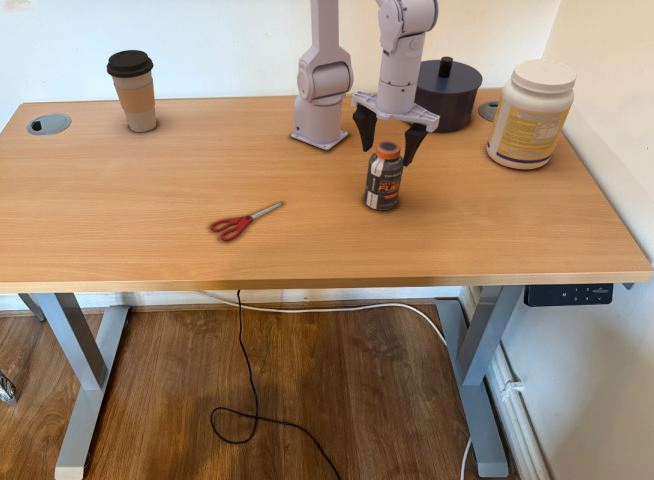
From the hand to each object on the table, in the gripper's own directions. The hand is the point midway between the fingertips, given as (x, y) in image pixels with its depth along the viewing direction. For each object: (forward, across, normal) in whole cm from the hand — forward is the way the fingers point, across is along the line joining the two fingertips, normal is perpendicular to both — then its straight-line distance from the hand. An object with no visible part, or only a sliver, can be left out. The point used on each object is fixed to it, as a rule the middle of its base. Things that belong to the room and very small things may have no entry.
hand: (387, 156), depth 90 cm
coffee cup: (+10, -56, -7) cm, 57 cm away
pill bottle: (+10, 0, 0) cm, 10 cm away
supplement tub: (+10, +14, +29) cm, 34 cm away
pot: (+9, -6, +34) cm, 36 cm away
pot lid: (+1, -6, +34) cm, 35 cm away
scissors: (+10, -16, -18) cm, 26 cm away
